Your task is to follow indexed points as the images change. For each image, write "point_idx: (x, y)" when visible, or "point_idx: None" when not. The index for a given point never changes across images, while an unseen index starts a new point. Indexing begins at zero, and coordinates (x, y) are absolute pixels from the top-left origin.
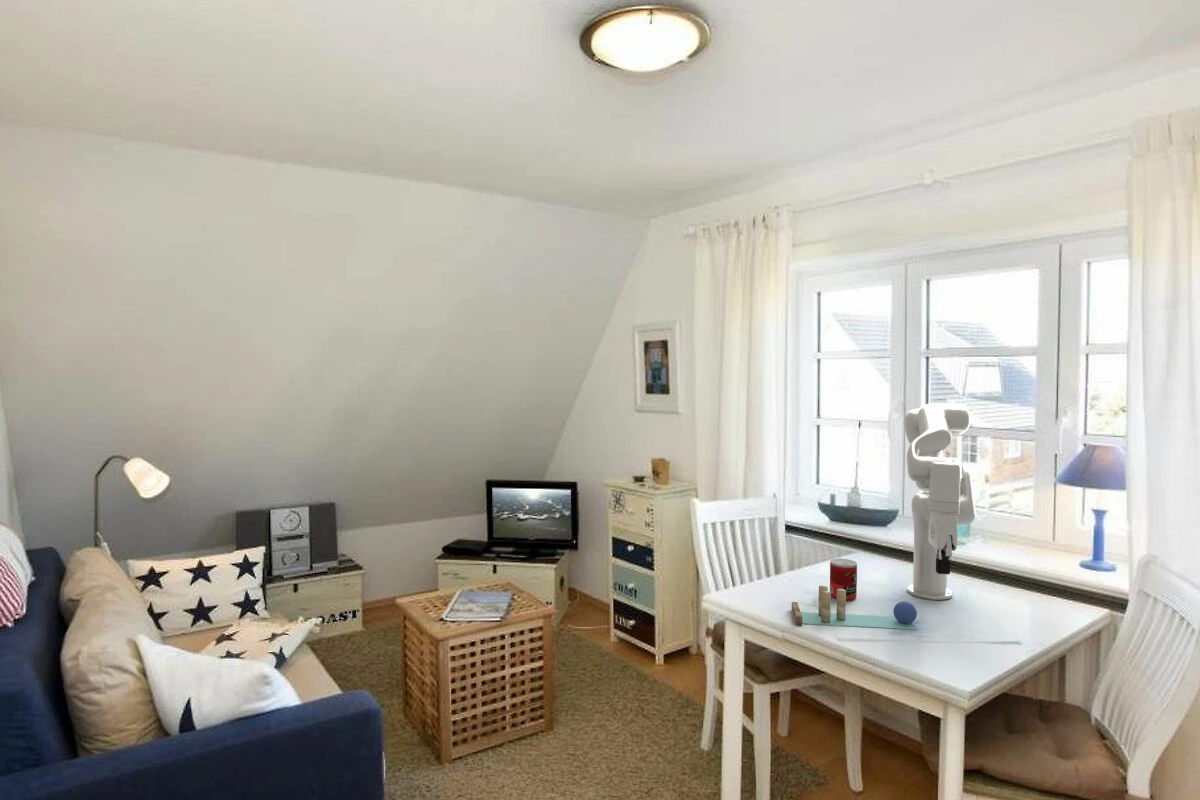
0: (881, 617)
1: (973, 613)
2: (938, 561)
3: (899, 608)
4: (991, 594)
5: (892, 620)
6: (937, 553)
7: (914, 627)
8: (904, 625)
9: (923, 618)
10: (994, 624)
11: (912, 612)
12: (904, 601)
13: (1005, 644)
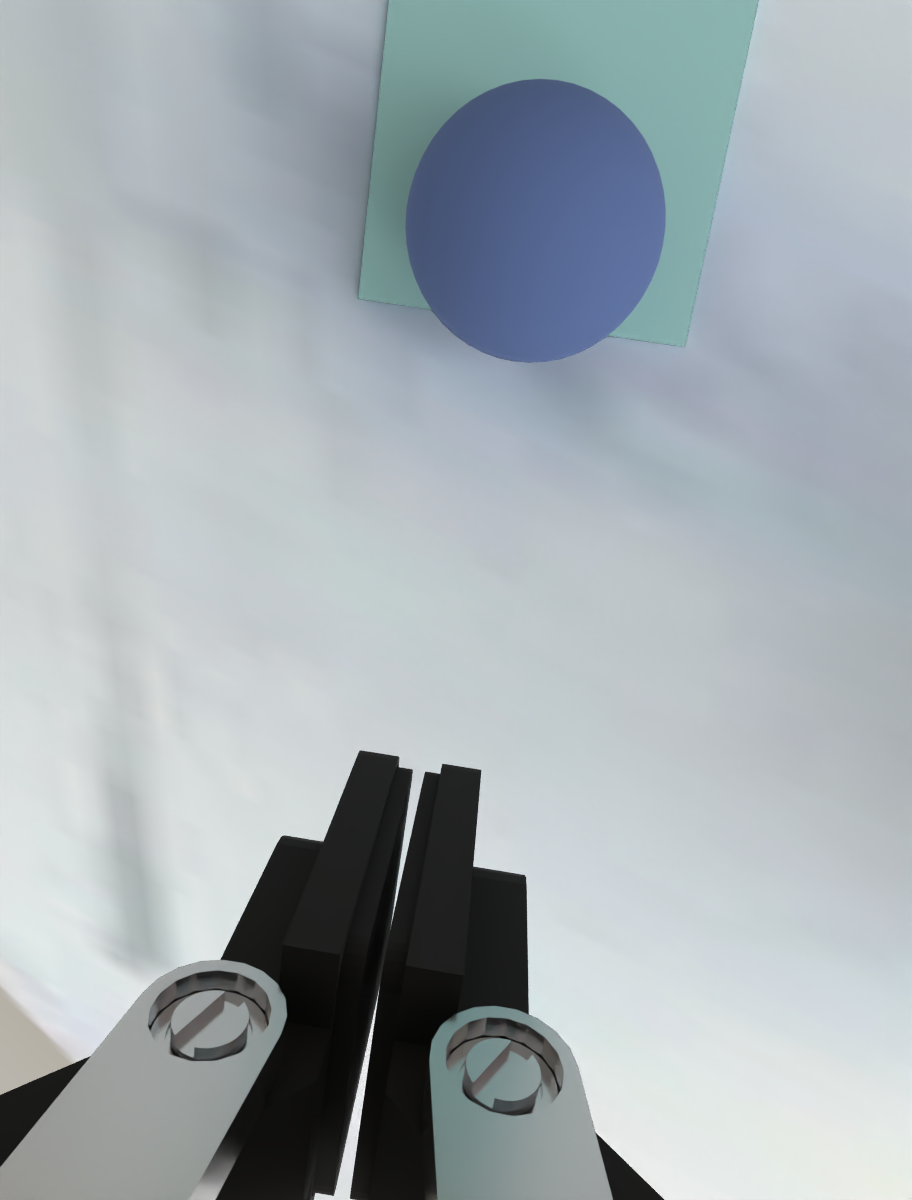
0: (695, 24)
1: (745, 970)
2: (300, 921)
3: (472, 110)
4: None
5: None
6: (432, 1131)
7: (400, 290)
8: None
9: (658, 497)
10: None
11: (416, 267)
12: (563, 208)
13: (97, 862)
